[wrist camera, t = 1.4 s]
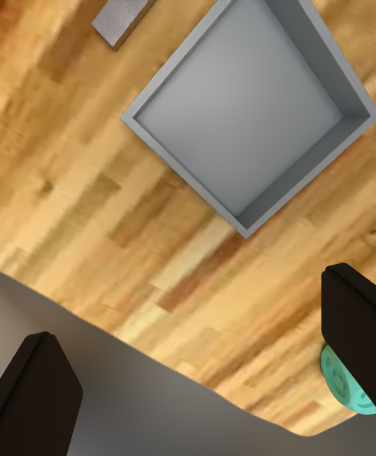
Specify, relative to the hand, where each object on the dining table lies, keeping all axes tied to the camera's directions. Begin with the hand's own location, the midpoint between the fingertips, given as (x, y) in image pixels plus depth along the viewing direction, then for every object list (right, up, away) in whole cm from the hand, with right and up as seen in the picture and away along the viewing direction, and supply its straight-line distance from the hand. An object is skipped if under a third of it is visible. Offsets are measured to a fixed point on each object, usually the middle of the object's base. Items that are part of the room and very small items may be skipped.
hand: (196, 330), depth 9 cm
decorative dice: (+26, -18, +36) cm, 48 cm away
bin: (+6, +16, +20) cm, 26 cm away
